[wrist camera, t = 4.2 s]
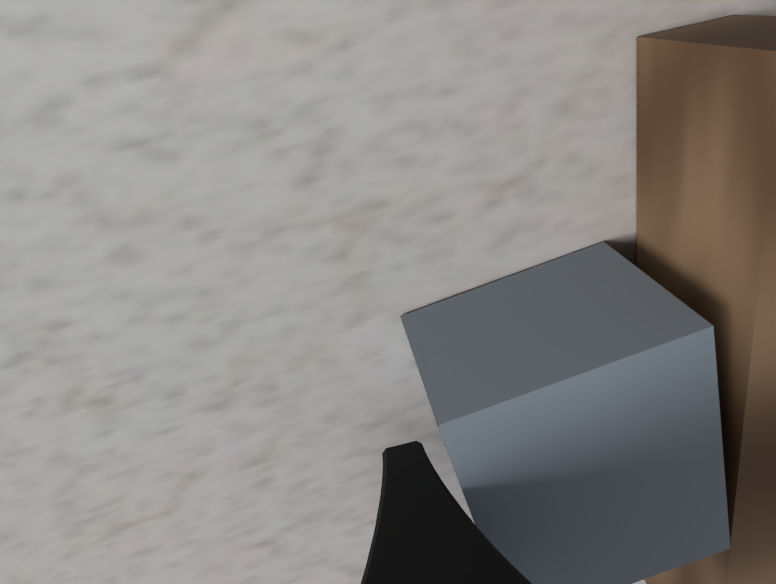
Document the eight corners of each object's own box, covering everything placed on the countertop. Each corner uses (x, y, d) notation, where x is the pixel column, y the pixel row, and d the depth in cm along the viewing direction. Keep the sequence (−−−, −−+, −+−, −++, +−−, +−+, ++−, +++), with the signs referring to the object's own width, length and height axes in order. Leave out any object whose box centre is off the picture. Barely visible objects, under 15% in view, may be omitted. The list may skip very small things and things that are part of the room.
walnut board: (695, 551, 19) (786, 677, 15) (636, 566, 19) (714, 697, 15) (733, 15, 12) (920, 20, 8) (636, 36, 12) (783, 52, 8)
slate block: (635, 430, 16) (730, 548, 13) (465, 491, 16) (513, 625, 13) (603, 241, 14) (713, 326, 10) (400, 316, 14) (438, 425, 10)
